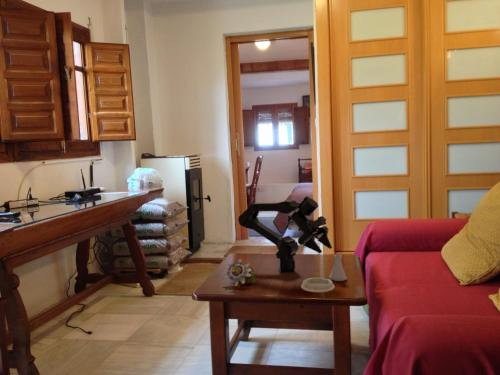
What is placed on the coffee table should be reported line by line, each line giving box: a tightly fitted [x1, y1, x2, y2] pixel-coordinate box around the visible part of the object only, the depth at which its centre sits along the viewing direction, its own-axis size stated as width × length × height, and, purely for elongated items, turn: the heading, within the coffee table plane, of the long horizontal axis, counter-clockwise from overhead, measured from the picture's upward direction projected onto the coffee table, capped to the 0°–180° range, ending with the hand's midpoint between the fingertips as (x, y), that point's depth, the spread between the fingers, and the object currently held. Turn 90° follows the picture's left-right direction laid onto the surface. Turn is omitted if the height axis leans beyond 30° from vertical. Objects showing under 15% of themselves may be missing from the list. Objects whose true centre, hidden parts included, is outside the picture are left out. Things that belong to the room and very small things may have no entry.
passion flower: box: [222, 258, 257, 287], centre depth 179 cm, size 11×11×12 cm
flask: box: [328, 254, 348, 282], centre depth 180 cm, size 7×7×10 cm
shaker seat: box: [300, 277, 335, 293], centre depth 170 cm, size 13×13×2 cm
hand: (326, 250), depth 183 cm, fingers open, 9 cm apart
